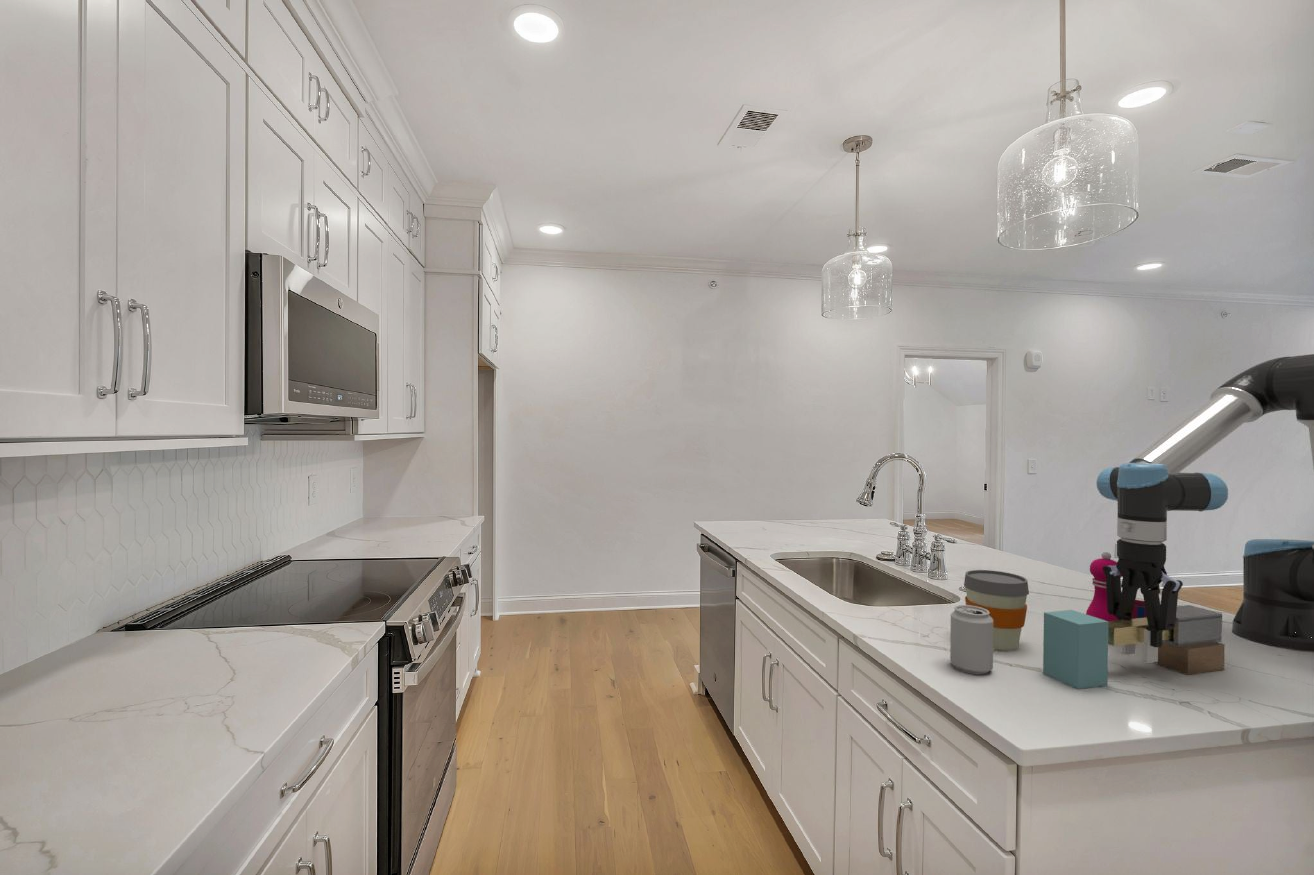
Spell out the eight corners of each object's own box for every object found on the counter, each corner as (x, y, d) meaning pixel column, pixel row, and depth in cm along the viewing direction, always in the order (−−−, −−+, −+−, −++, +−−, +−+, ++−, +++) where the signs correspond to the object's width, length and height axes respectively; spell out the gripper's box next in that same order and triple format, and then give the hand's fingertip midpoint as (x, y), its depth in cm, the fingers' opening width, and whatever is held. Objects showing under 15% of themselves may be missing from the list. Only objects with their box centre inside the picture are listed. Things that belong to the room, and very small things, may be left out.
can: (992, 679, 109) (992, 617, 109) (948, 670, 113) (949, 610, 113) (993, 665, 115) (993, 606, 115) (951, 657, 119) (952, 600, 119)
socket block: (1070, 669, 114) (1071, 609, 113) (1107, 685, 107) (1108, 621, 106) (1043, 672, 112) (1043, 612, 112) (1078, 689, 105) (1079, 624, 105)
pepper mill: (1110, 633, 134) (1112, 549, 134) (1133, 645, 127) (1134, 555, 126) (1078, 632, 135) (1079, 548, 134) (1098, 643, 127) (1100, 555, 127)
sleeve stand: (1182, 653, 122) (1182, 603, 122) (1227, 669, 114) (1228, 615, 114) (1140, 659, 119) (1140, 607, 119) (1183, 675, 111) (1184, 619, 111)
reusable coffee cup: (1038, 656, 120) (1039, 585, 120) (973, 650, 123) (974, 582, 123) (1014, 635, 132) (1015, 571, 132) (956, 630, 135) (957, 568, 135)
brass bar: (1198, 627, 120) (1198, 611, 120) (1218, 633, 116) (1218, 617, 116) (1096, 639, 113) (1096, 622, 113) (1113, 646, 109) (1114, 628, 109)
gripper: (1085, 533, 120) (1084, 644, 120) (1174, 550, 104) (1172, 676, 104) (1112, 532, 122) (1111, 640, 122) (1203, 548, 106) (1201, 672, 106)
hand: (1139, 657), depth 113 cm, fingers closed on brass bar, 3 cm apart
